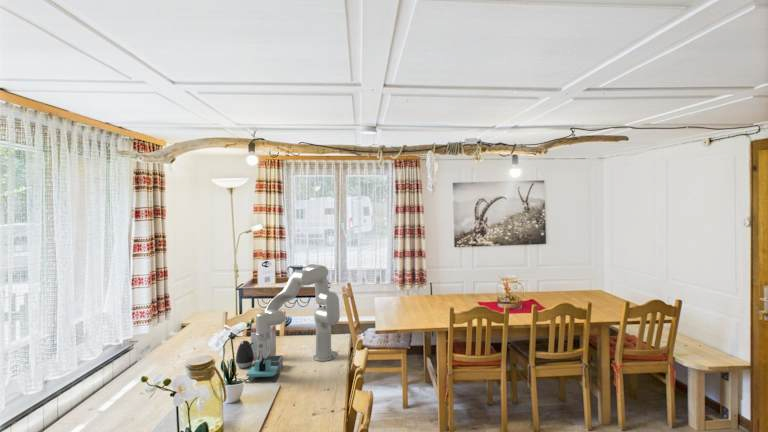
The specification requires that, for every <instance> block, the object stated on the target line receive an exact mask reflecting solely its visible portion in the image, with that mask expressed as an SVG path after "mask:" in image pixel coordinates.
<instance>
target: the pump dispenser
mask: <svg viewBox="0 0 768 432" xmlns="http://www.w3.org/2000/svg"><path fill="white" fill-rule="evenodd" d="M252 344H253V342H252V343H251V342H250V341H249V340H247V339H246V340H245V339H244V340H243V341H241V342H240V343H239V345H238V347H237V350H236V351H237V352H236V355H235V363H236V364H235V365H237V367H238V368H241V369H247V368H249V367H252V364H254V361H253V360H254V354H253V350H252V347H251V345H252Z"/></svg>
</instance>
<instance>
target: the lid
mask: <svg viewBox="0 0 768 432" xmlns="http://www.w3.org/2000/svg"><path fill="white" fill-rule="evenodd" d="M254 362H255V367H254V366H250V368H249V369H248V371H247V372H246V376H245V377H249V376H250V377H270V376H274V375H275V373H278V372H277V370H278V366H271V360H265V371H259V360H256V361H254Z"/></svg>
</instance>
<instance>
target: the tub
mask: <svg viewBox="0 0 768 432" xmlns="http://www.w3.org/2000/svg"><path fill="white" fill-rule="evenodd" d="M283 357H284V355H282V354H280V355H279V354H276V356H268V357H267V360H271V366H278V370H277V372H276V373H279V372H281V370H282V368H283V366H284V365H283V364H284V363H283V362H284V360H283V359H284V358H283ZM256 360H259V359H258V358H257V359H256ZM256 360H255V361H256ZM255 361H253V367H255Z"/></svg>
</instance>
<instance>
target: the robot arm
mask: <svg viewBox="0 0 768 432" xmlns="http://www.w3.org/2000/svg"><path fill="white" fill-rule="evenodd" d="M328 276H329V269H328V267H327V266H325V265H321V264H311V263H310V264H307V265H306V266H305V267H304V270H303V269H296V270H294V271H293V272H292V273H291V275H290V277H289V278H288V280H287V282H286V283H285V285H284V287H283V289H282V290H281V291H280V292H279V293H277V294H276V295H275V296H274V297H273V299H271V300H270V301H269V303H268V304H267V306H266V307H265V310H264V311H263V312H258V313H256V316H255V325H256V340H258V343H257V358H258V359H259V371H265V360H267V357H268V356H269V354H270V326H271V325H276V326H279V325H282V324H283V323H284V322H285V321H286V314H285V313H284V312H283V311H281V310H279V309H280V308H281V307H282V306H283V305H284V304H285V303H287V302H290V301H292V300H294V299H295V298H296V297H297V295H298V294H299V291H300V290H301V288H302V286H311V285H313V284H314V295H315V303H316V304H317V305H319V306H320V307H317V308H316V310H315V311H314V316H313V317H314V322H315V354H314V355H313V360H314V361H317V362H327V361H328V362H329V361H331V360H333V359H334V358H335V357H334V356H339V351H336V350H334V351H333V348H332V326H335V325H337V324H338V322H340V321H339V320H340V316H341V314H340V311H341V310H340V299H339V295H338V294H337V293H336V292H334V291H330V287H329V280H328Z"/></svg>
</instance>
